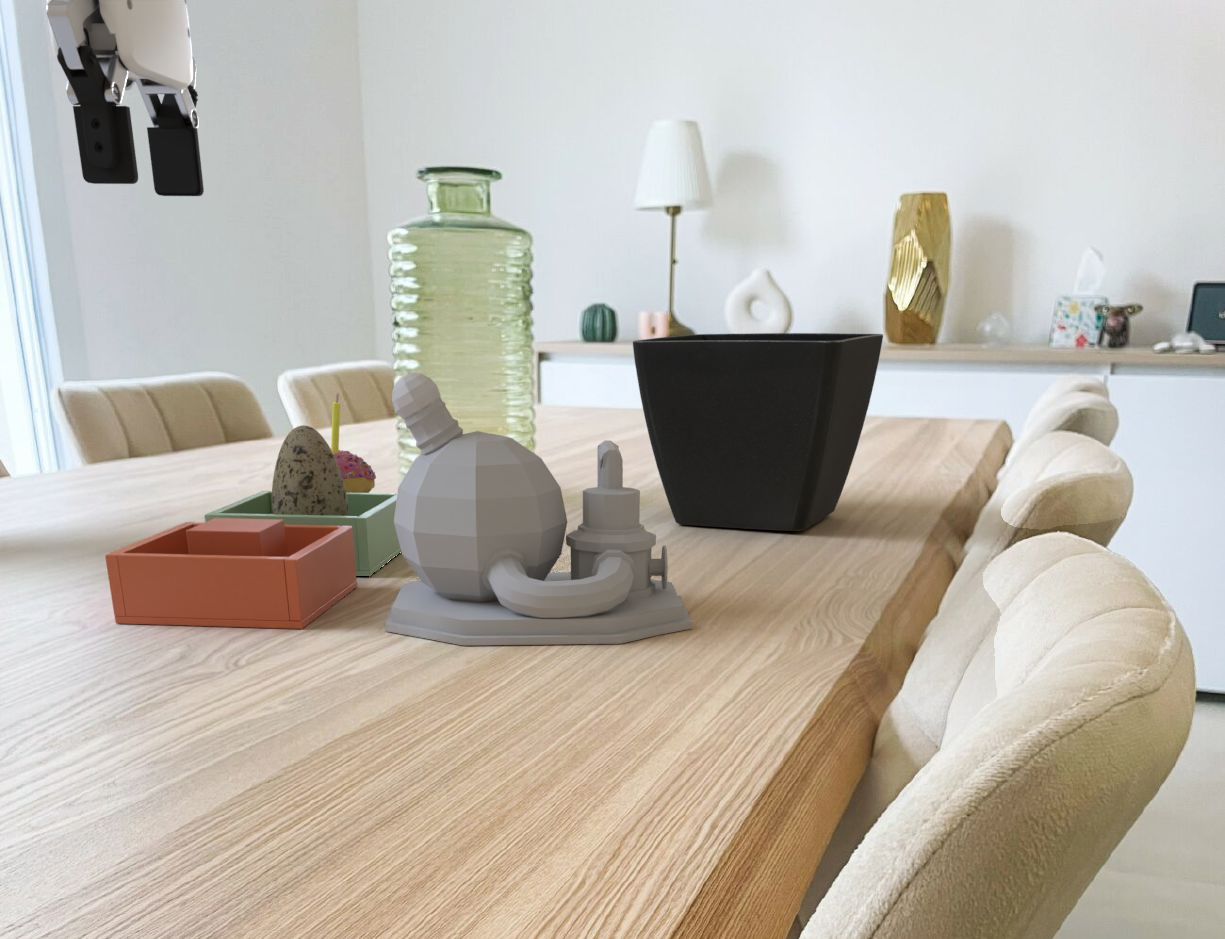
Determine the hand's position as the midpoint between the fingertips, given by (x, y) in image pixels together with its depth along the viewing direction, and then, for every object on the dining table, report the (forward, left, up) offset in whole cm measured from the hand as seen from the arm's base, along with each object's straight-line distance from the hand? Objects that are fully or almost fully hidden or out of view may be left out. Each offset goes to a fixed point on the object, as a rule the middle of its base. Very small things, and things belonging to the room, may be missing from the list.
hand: (147, 189), depth 77 cm
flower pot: (+40, +38, -26) cm, 61 cm away
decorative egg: (+4, +14, -26) cm, 30 cm away
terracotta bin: (+4, -2, -26) cm, 26 cm away
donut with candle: (+1, +28, -26) cm, 38 cm away
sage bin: (+4, +14, -26) cm, 30 cm away
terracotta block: (+4, -2, -26) cm, 26 cm away
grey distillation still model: (+25, -3, -26) cm, 36 cm away
